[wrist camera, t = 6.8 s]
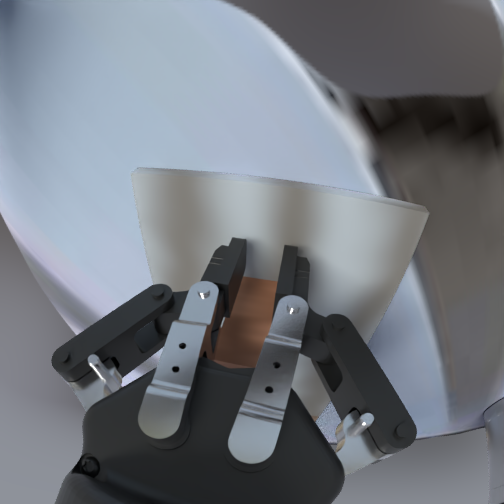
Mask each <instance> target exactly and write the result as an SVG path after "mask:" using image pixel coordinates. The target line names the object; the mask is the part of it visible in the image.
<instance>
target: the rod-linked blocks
mask: <svg viewBox="0 0 504 504" xmlns="http://www.w3.org/2000/svg"><path fill="white" fill-rule="evenodd" d="M277 282H278V281H271V280H264V279H258V278H251V277H245V276H243V279H242V282H241V285H240V288H239V291H238V294H237V297H236V300H235V303H234V306H233V309H232V312H231V315H230V318H226V317H225V319H224V322H223V325H222V328H221V331H220V336H219V341H218V345H217V350H216V354H215V360H214V362H216V363H218V364H220V365H223V366H225V367H227V368H255V367H256V364H257V361H258V358H259V355H260V352H261V349H262V347H263V344H264V341H265V338H266V336H268V333H269V330H270V327H271V323H272V316H273V308H274V301H275V293H276V288H277Z"/></svg>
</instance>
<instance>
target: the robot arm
mask: <svg viewBox="0 0 504 504" xmlns="http://www.w3.org/2000/svg"><path fill="white" fill-rule="evenodd" d="M246 251H247V240H246V239H242V238H235V237H232V239H231V241H230V244H229V246H225V245H221V246H220V247H219V248H217V249H216V250H215V252H214V254H213V256H212V258H211V260H210V262H209V264H208V266H207V268H206V270H205V272H204V274H203V276H202V278H201V281H200V282H197V283H195V284H194V285H192V286H191V288H190V290H188V291H179V292H172V289H171V288H170V287H169V286H168V285H166V284H155V285H152V286H150V287H149V288H147V289H146V290H144V291H143V292H141V293H140V294H138V295H136V296H135V297H133V298H132V299H130V300H129V301H127V302H126V303H124V304H123V305H121V306H120V307H118V308H117V309H115V310H114V311H112V312H111V313H109V314H108V315H106V316H105V317H103V318H102V319H100V320H99V321H97V322H96V323H94V324H93V325H91V326H90V327H89V328H87V329H86V330H84V331H83V332H81V333H80V334H78V335H77V336H75V337H74V338H72V339H71V340H69V341H68V342H67V343H65V344H64V345H62V346H61V347H59V348H58V349H57V350H56V351H55V352H54V354H53V356H52V366H53V367H54V369H55V370H56V371H57V372H58V373H59V374H60V375H61V377H62V379H63V380H64V381H65V382H66V383H67V384H68V385H69V386H70V387H71V388H72V389H73V391H74V393H75V394H76V396H77V398H78V399H79V401H80V402H81V404H82V405H83V407H84V408H85V410H86V411H87V412H86V414H85V416H84V419H83V426H82V428H83V450H82V455H81V458H80V460H79V461H78V463H77V464H76V465H75V467H74V468H73V469H72V470H71V471H70V472H69V473H68V475H67V476H66V477H65V479H64V481H63V483H62V486H61V488H60V491H59V494H58V497H57V499H56V502H55V504H331V503H332V502H333V501H334V500H335V498H336V497H337V496H338V495H339V493H340V492H341V490H342V487H343V484H344V480H345V476H347V475H349V474H351V473H353V472H355V471H357V470H359V469H361V468H363V467H365V466H367V465H369V464H374V463H377V462H379V461H381V460H383V459H386V458H387V457H389V456H391V455H393V454H395V453H397V452H399V451H401V450H403V449H404V448H407V447H408V446H410V445H411V444H412V443H413V442H414V440H415V438H416V434H417V429H416V425H415V423H414V422H413V420H412V418H411V416H410V415H409V413H408V411H407V410H406V408H405V406H404V405H403V403H402V401H401V400H400V398H399V396H398V395H397V393H396V391H395V390H394V388H393V386H392V385H391V383H390V382H389V380H388V378H387V377H386V375H385V373H384V372H383V370H382V369H381V367H380V365H379V364H378V362H377V361H376V359H375V358H374V356H373V354H372V353H371V351H370V350H369V348H368V347H367V345H366V343H365V342H364V340H363V339H362V337H361V336H360V334H359V333H358V331H357V330H356V328H355V327H354V325H353V323H352V322H351V321H350V319H349V318H347V317H346V316H344V315H341V314H330V315H328V316H327V317H324V316H322V315H320V314H317V313H316V312H314V311H313V310H312V309H311V308H310V306H309V304H308V289H309V275H310V263H309V261H308V259H307V258H306V257H299V256H297V251H298V247H297V246H291V245H284V250H283V256H282V261H281V266H280V272H279V277H278V282H277V288H276V293H275V301H274V308H273V316H272V323H271V327H270V330H269V333H268V336H266V338H265V341H264V344H263V347H262V349H261V352H260V355H259V358H258V361H257V364H256V367H255V368H227V367H225V366H223V365H220V364H218V363H216V362H214V360H215V354H216V350H217V345H218V341H219V336H220V331H221V324H222V321H223V318H224V317H226V318H230V315H231V312H232V309H233V306H234V303H235V300H236V297H237V294H238V291H239V288H240V285H241V282H242V279H243V275H244V272H245V268H246ZM151 321H152V322H151ZM144 326H145V327H144ZM137 331H138V332H137ZM163 347H164V348H163ZM161 348H163V351H162V354H161V357H160V360H159V363H158V366H157V367H156V368H155V369H153V370H151V371H150V372H148V373H146V374H145V375H143V376H141V377H139V378H138V379H136V380H134V381H133V382H131V383H129V384H127V385H126V386H124V387H122V388H121V389H120V386H121V383H122V378H123V377H124V376H126V375H127V374H128V373H130V372H131V371H132V370H134V369H135V368H136V367H137V366H139V365H140V364H141V363H143V362H144V361H145V360H147V359H148V358H149V357H151V356H152V355H153V354H155V353H156V352H157V351H159V350H160V349H161ZM299 353H300V354H302V355H304V356H306V357H308V358H311V362H312V364H313V366H314V368H315V370H316V372H317V374H318V376H319V378H320V380H321V382H322V383H323V385H324V387H325V389H326V391H327V393H328V395H329V397H330V399H331V401H332V403H333V405H334V407H335V409H336V411H337V413H338V415H339V417H340V419H341V421H342V422H341V423H340V424H339V425H338V426H337V428H336V432H335V435H336V439H337V449H336V452H334V450H333V449H332V447H331V446H330V444H329V443H328V441H327V440H326V438H325V437H324V435H323V434H322V432H321V430H320V429H319V427H318V426H317V424H316V423H315V421H314V420H313V418H312V417H311V415H310V413H309V412H308V410H307V409H306V407H305V406H304V404H303V402H302V401H301V399H300V398H299V396H298V395H297V393H296V392H295V391H294V390H293V388H291V386H292V382H293V378H294V374H295V370H296V366H297V362H298V357H299ZM484 421H485V428H486V438H487V449H488V464H489V504H504V398H503V399H502V400H500V401H498V402H497V403H495V404H494V405H492V406H491V407H490V408H488V409H487V410H486V411H485V413H484Z"/></svg>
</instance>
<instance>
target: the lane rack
mask: <svg viewBox="0 0 504 504" xmlns="http://www.w3.org/2000/svg"><path fill="white" fill-rule="evenodd" d="M131 179H132V186H133V192H134V198H135V203H136V209H137V214H138V219H139V224H140V229H141V234H142V239H143V243H144V248H145V252H146V257H147V261H148V265H149V269H150V273H151V277H152V281H153V285H155V284H166V285H168V286H169V287H170V288H171V289H172V292H179V291H188V290H190V288H191V286H192V285H194V284H195V283H197V282H200V281H201V278H202V276H203V274H204V272H205V270H206V268H207V266H208V264H209V262H210V260H211V258H212V256H213V254H214V252H215V250H216V249H217V248H219V247H220V246H221V245H225V246H229V244H230V241H231V239H232V237H235V238H242V239H246V240H247V251H246V268H245V272H244V275H243V276H245V277H251V278H258V279H264V280H271V281H278V277H279V272H280V266H281V261H282V256H283V250H284V245H291V246H297V247H298V251H297V256H299V257H306V258H307V259H308V261H309V263H310V275H309V289H308V304H309V306H310V308H311V309H312V310H313V311H314V312H316V313H317V314H320V315H322V316H324V317H327V316H328V315H330V314H341V315H344V316H346V317H347V318H349V319H350V321H351V322H352V323H353V325H354V327H355V328H356V330H357V331H358V333H359V334H360V336H361V337H362V339H363V340H364V342H365V343H366V345H367V344H368V342H369V341H370V339H371V337H372V335H373V334H374V332H375V330H376V328H377V327H378V325H379V323H380V321H381V319H382V317H383V316H384V314H385V312H386V310H387V308H388V306H389V304H390V302H391V300H392V298H393V296H394V294H395V292H396V290H397V288H398V286H399V284H400V282H401V280H402V278H403V276H404V274H405V271H406V269H407V267H408V265H409V263H410V260H411V258H412V256H413V253H414V251H415V249H416V246H417V244H418V241H419V239H420V236H421V234H422V231H423V229H424V226H425V224H426V221H427V218H428V216H429V212H428V211H427V209H426V207H425V206H422V205H418V204H414V203H409V202H405V201H400V200H396V199H391V198H386V197H382V196H377V195H372V194H367V193H361V192H356V191H351V190H345V189H339V188H334V187H328V186H321V185H315V184H309V183H302V182H295V181H288V180H280V179H273V178H265V177H256V176H247V175H238V174H228V173H217V172H205V171H192V170H176V169H158V168H137V169H135V170H134V171H133V172H131ZM224 319H225V317H224V318H223V321H222V324H221V328H222V325H223V322H224ZM291 388H293V390H294V391H295V392H296V393H297V395H298V396H299V398H300V399H301V401H302V402H303V404H304V406H305V407H306V409H307V410H308V412H309V413H310V415H311V417H312V418H313V420H314V421H316V420H317V418H318V417H319V416H320V415H321V413H322V412H323V410H324V409H325V408H326V406H327V405H328V404H329V402H330V401H331V399H330V397H329V395H328V393H327V391H326V389H325V387H324V385H323V383H322V382H321V380H320V378H319V376H318V374H317V372H316V370H315V368H314V366H313V364H312V362H311V358H308V357H306V356H304V355H302V354H300V353H299V357H298V362H297V366H296V370H295V374H294V378H293V382H292V386H291Z"/></svg>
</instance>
